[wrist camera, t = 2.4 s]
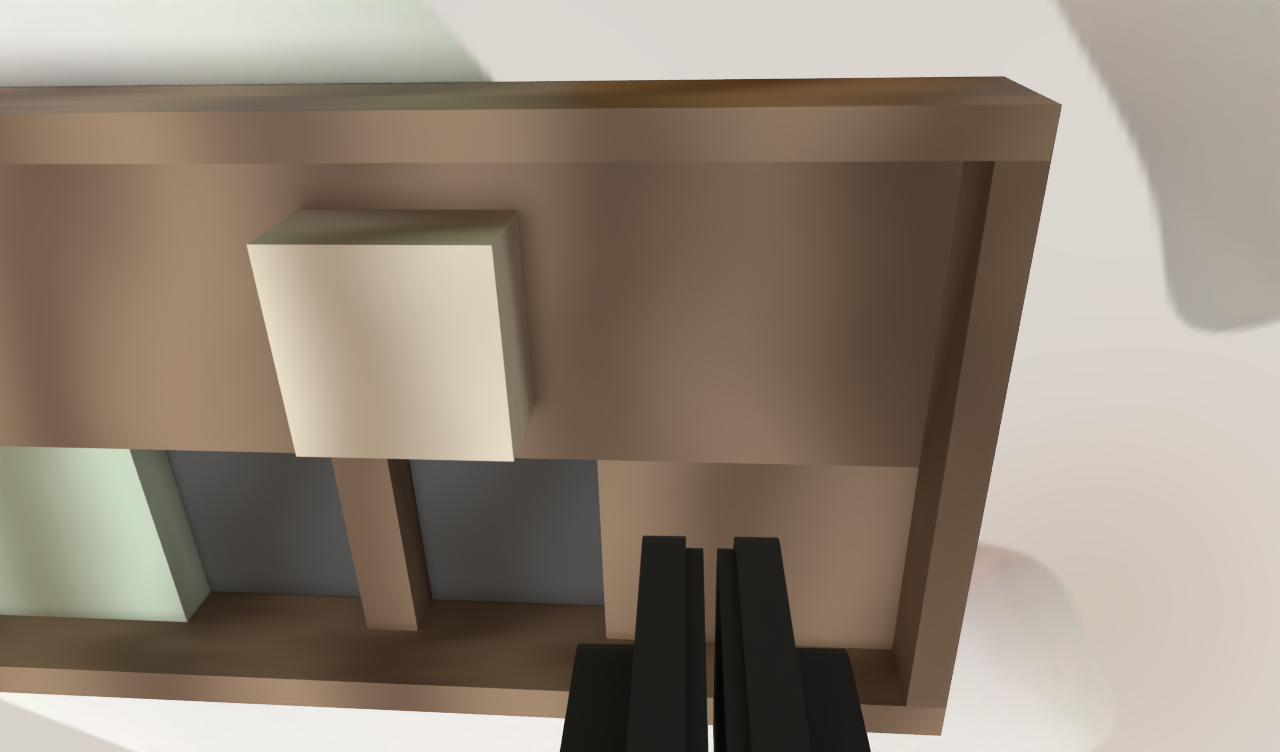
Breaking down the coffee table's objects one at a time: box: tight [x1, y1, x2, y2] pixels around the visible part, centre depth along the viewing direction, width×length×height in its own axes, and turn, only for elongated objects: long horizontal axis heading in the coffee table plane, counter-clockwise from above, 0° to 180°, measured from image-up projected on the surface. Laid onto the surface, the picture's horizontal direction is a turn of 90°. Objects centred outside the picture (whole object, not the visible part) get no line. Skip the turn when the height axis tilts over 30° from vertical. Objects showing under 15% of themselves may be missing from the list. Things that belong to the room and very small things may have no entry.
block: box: [246, 209, 534, 462], centre depth 19 cm, size 5×5×2 cm
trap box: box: [0, 77, 1061, 736], centre depth 22 cm, size 29×16×4 cm, turn 91°
